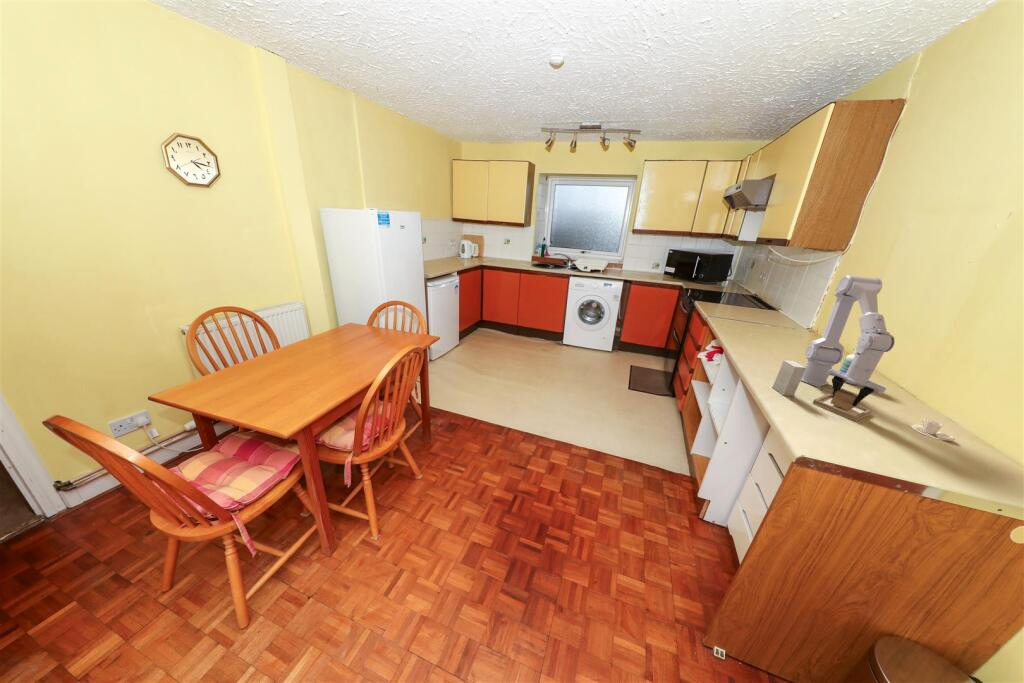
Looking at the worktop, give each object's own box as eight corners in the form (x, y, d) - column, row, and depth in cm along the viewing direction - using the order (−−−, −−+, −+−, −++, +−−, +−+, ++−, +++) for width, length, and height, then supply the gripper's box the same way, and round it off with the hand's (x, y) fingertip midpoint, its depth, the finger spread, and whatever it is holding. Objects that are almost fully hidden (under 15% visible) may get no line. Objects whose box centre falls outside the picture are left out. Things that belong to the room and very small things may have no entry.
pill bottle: (832, 378, 141) (846, 349, 136) (841, 375, 143) (855, 347, 138) (854, 386, 134) (870, 356, 129) (863, 383, 137) (879, 354, 132)
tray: (827, 396, 124) (828, 393, 123) (869, 413, 114) (871, 410, 114) (812, 403, 118) (814, 399, 118) (855, 421, 109) (857, 417, 108)
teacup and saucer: (958, 445, 101) (966, 434, 99) (927, 440, 102) (934, 429, 101) (932, 428, 109) (938, 418, 107) (903, 423, 110) (909, 413, 109)
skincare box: (794, 396, 122) (807, 367, 118) (782, 395, 122) (795, 367, 118) (782, 388, 128) (794, 360, 123) (771, 387, 128) (782, 359, 123)
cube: (836, 400, 119) (842, 388, 117) (854, 407, 115) (860, 395, 113) (830, 403, 117) (836, 390, 115) (848, 410, 112) (854, 398, 111)
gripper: (830, 359, 114) (814, 393, 119) (888, 378, 102) (867, 414, 107) (838, 357, 117) (822, 389, 122) (895, 374, 106) (875, 410, 111)
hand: (844, 401), depth 115 cm, fingers closed on cube, 5 cm apart
